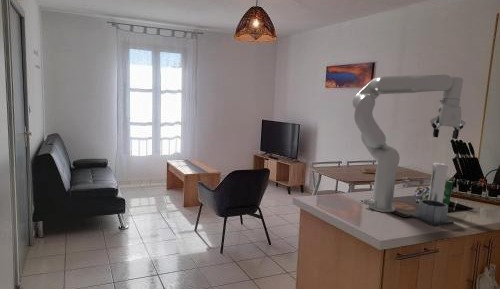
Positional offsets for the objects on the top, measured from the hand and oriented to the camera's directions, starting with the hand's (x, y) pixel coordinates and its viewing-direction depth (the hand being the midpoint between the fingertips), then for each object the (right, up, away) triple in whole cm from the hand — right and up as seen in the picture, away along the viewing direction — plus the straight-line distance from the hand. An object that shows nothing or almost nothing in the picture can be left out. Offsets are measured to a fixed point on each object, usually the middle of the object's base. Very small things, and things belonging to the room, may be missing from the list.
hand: (445, 137), depth 176 cm
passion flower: (0, -36, +21) cm, 41 cm away
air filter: (-3, -38, +5) cm, 38 cm away
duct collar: (-10, -39, -7) cm, 41 cm away
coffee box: (+10, -36, +23) cm, 44 cm away
